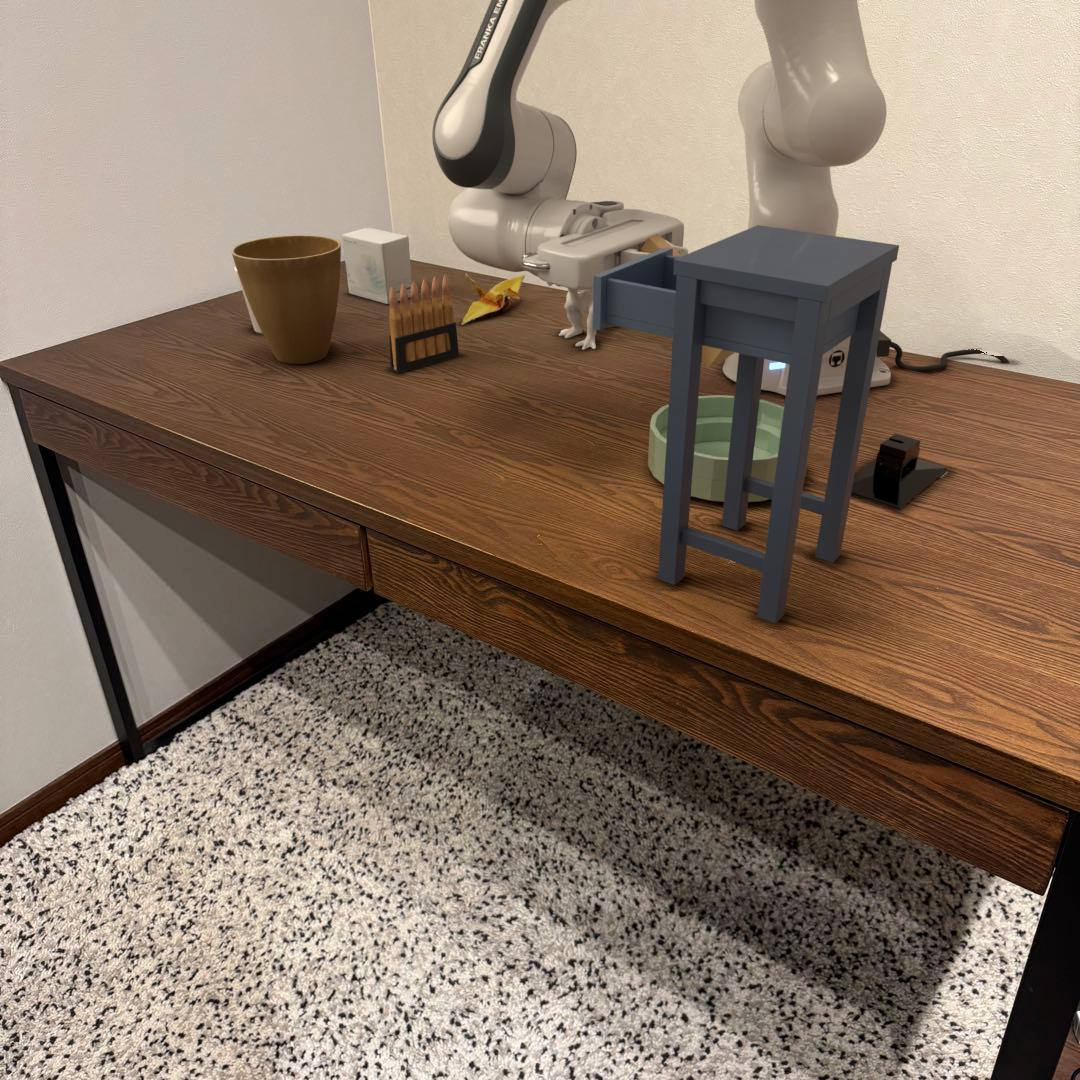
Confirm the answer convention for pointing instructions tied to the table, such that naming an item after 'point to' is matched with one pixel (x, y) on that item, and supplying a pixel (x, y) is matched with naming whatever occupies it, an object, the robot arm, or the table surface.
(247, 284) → the plant pot
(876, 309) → the nightstand
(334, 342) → the table surface
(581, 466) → the table surface
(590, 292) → the dinosaur figurine
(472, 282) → the origami crane
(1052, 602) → the table surface
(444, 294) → the ammunition clip
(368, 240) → the cosmetics box
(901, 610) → the table surface
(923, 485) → the black slotted stand
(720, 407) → the bowl
